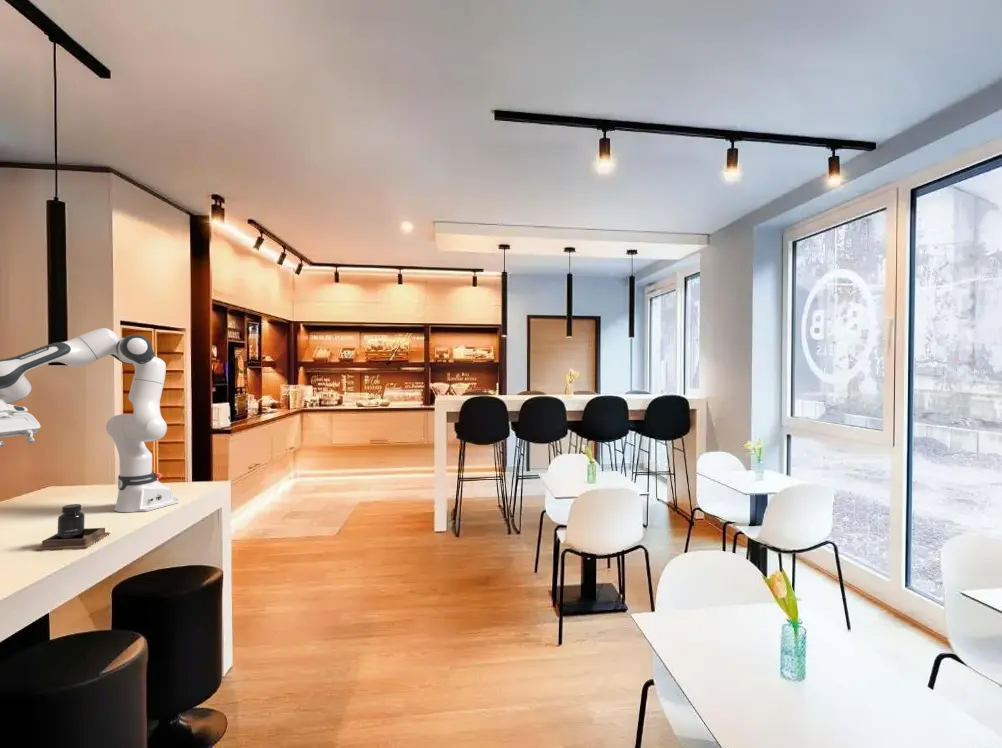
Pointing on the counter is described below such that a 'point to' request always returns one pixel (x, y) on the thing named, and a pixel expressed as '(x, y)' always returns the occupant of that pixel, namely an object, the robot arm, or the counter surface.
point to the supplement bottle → (71, 522)
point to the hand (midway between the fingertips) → (16, 444)
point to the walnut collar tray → (74, 540)
